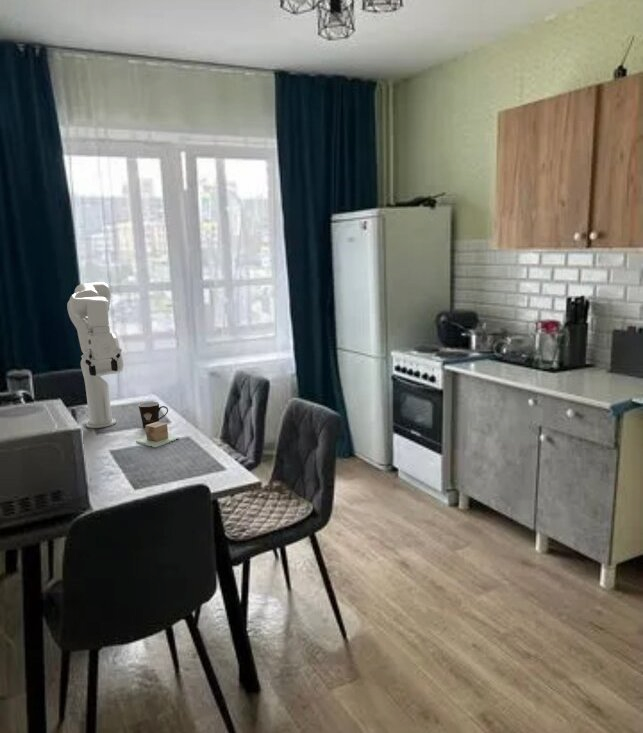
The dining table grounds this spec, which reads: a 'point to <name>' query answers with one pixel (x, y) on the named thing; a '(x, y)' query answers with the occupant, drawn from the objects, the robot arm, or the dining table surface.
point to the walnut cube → (156, 431)
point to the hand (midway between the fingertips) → (104, 373)
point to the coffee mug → (150, 412)
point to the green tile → (159, 443)
